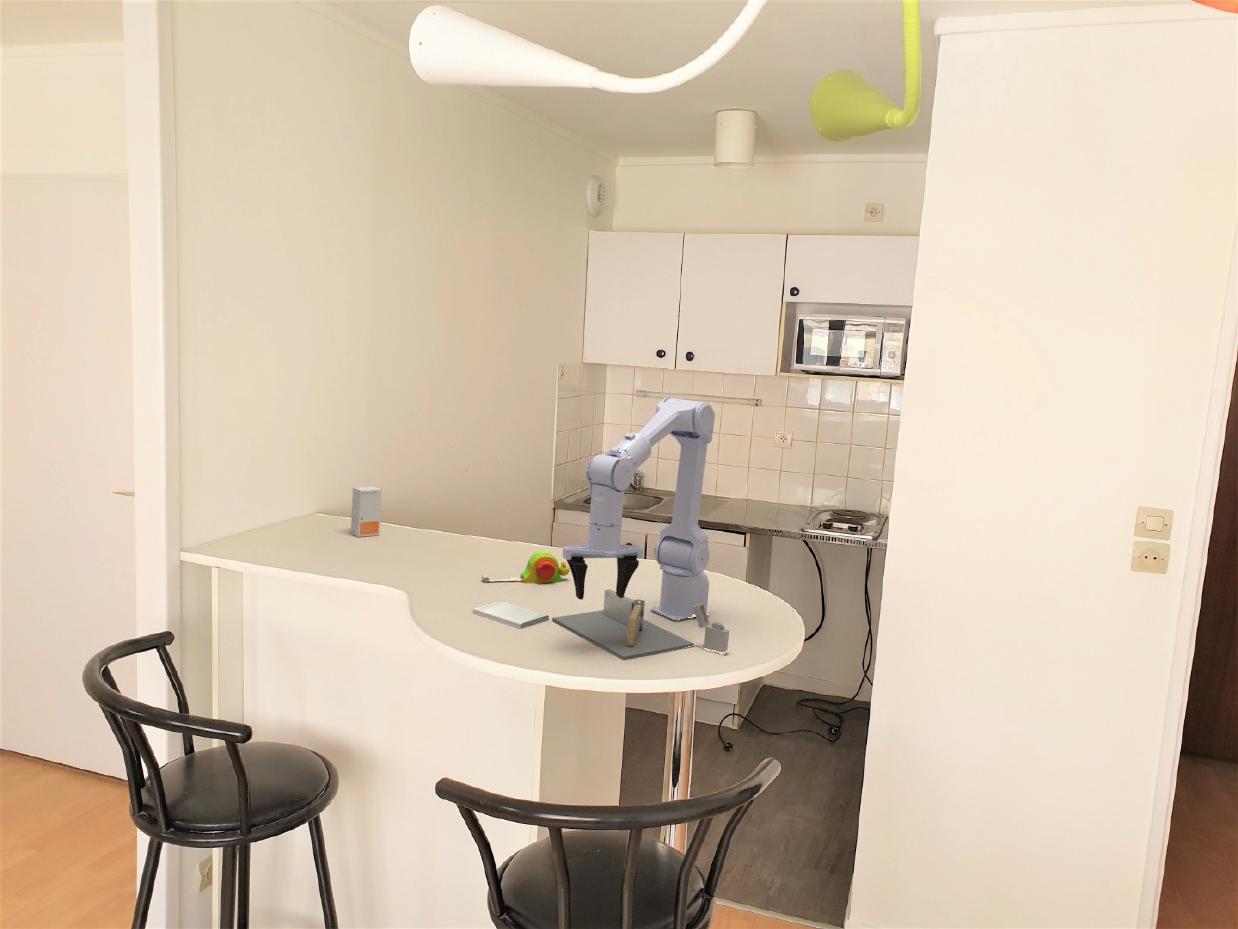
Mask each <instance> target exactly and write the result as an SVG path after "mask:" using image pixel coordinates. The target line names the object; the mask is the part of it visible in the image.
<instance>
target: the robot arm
mask: <svg viewBox="0 0 1238 929" xmlns="http://www.w3.org/2000/svg"><path fill="white" fill-rule="evenodd" d="M715 416H716V414H715V411H714V409H713V407H712V405H711V403H709V402H708V401H699V400H689V399H680V398H674V397H670V396H666V397H664V398H662V400H661V401H660V402H659V403H657V405H656V409H655V415H653V416H652V418H651V419H650V420H649V421H648V422H647V423H646V424H645V426H643V427H642V428H641V430H640V431H639V432H627V433H626V434H624V437H623V438H622V439H621V440H620V441H618V443H616V444H615V445H614V446H613V447H612V448H610V450H608V451H607V452H606V453H605V454H598V455H596V456H594V457H592V458H591V459H590V461H589V463H588V466H587V468H586V470H585V478H586V481H587V483H588V493H589V495H590V509H589V510H590V511H589V523H588V524H589V525H588V535H587V536H588V537H587V544H585V543H584V544H577V545H567V546H565V545H564V546H563V547H562V558H563V559H564V560H566V563H567V564H568V565H567V566H568V567H569V571H570V572H571V575H572V578H573V583H574V590H575V596H576V598H577V599H579V600H584V596H585V583H586V581H585V580H586V575H587V571H588V568H589V566H588V564H587V563H586V560H585V559H614V558H615V559H616V565H617V566H616V567H617V569H616V570H617V578H616V586H615V592H616V595H617V596H618V597H619V598H624V596H625V594H626V591H627V589H628V588H627V587H628V585H629V582H630V580H631V578H632V577H633V574H634V573H635V571H637V569H638V567H639V566H640V565H639V564H640V561H639V559H643V558H644V557H643V556H644V547H642V546H641V545H636V544H635V545H631V544H621V535H622V525H623V524H622V523H623V522H622V521H623V511H624V498H625V496H624V495H625V490H626V489H628V488H629V487H630V485H631V483H632V481H633V478H634V476H635V475H636V472H637V469H639V468H640V466H642V464H644V463H645V462H646V461H647V460H648V459H649V458H650V457H651V455H652V447H654V445H656V444H658V443H659V442H661V440H663V439H664V438H665V437H667V436H668V435H670V436H671V437H673V438H675V440H677V442H678V444H679V445H680V452H679V453H680V454H679V460H678V461H679V463H678V469H677V478H676V486H675V494H674V502H673V512H672V518H671V523H670V524H668V525H666V526H665V527H663V528H662V529H661V530H660V534H659V537H658V538H659V539H658V541H657V543H656V546H655V549H654V551H655V552H654V555H655V560H656V563H657V564H658V565H659V569H660V570H662V575H661V576H662V577H661V578H662V579H661V590H660V600H659V601H660V602H659V605H658V606H652V607H650V609H651V610H650V611H652V610H653V611H652V612H654V611H655V612H654V613H657V614H658V613H660V614H662V615H661V616H663V615H664V616H663V617H665V616H666V617H665V618H667V617H668V619H669V618H670V619H669V620H671V619H674V620H678V619H684V620H686V619H685V618H688V617H692V615H693V614H695V612H694V609H693V606H694V605H697V604H701V603H703V604H704V606H705V610H706V611H707V612H708V602H709V601H708V600H709V592H710V590H709V589H710V583H709V582H710V580H709V578H708V575H707V574H706V573H705V569H706V568H707V566H708V564H709V560H710V550H709V539H710V538H709V535H707V534H706V532H704V530H703V529H702V528H701V527H700V525H699V516H700V507H701V502H702V501H701V500H702V492H703V484H704V478H705V468H706V461H707V460H706V458H707V454H708V453H707V452H708V444H710V443H712V441H713V433H714V426H715V418H716V417H715ZM660 614H659V615H660ZM678 621H679V620H678Z"/></svg>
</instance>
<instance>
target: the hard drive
mask: <svg viewBox="0 0 1238 929" xmlns="http://www.w3.org/2000/svg"><path fill="white" fill-rule="evenodd" d="M472 614H473V615H477V616H479V617H483V618H486V619H489V620H491V621H495V622H498V623H500V624H504V625H506V626H510V627H513V628H516V629H519V630H522V629H525V628H528V627H531V626H532V627H533V626H535V625H538V624H541V623H544V622H547V621H549V620H550V616H549V614H545V613H542V612H538V611H535V610H532V609H529V608H525V607H523V606H520V605H517V604H513V603H510V602H506V601H502V600H497V601H495V602H491V603H488V604H485V605H480V606H478V607H475V608H473V609H472Z"/></svg>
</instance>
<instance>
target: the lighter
mask: <svg viewBox="0 0 1238 929" xmlns="http://www.w3.org/2000/svg"><path fill="white" fill-rule="evenodd" d="M693 609H694V612H695V615H696V618H695V619H696V622H697V626H698V628H699V629H700V628H705V629H704V630H705V631H704V639H703V640H704V642H703V649H704V648H707V649H710V650H716V651H719V652H725V651H726V650H727V651H728V646H729V636H730V629H726V628H725V625H724V624H723V623H722V622H718V621H713V622H711V624H710V619H709V617H708V616H709V615H708V616H707V613H706V610H705V606H704V604H703V603H701V604H697V605H694V606H693Z"/></svg>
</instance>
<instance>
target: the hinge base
mask: <svg viewBox="0 0 1238 929" xmlns="http://www.w3.org/2000/svg"><path fill="white" fill-rule="evenodd" d="M603 598H604V600H603V610H596V611H588V612H583V613H574V614H569V615H562V616H554V617H552V618H551V621H552V622H554V623H556V624H557V625H559V626H561V627H562V628H564V629H565V630H566V629H567V631H568V630H569V631H571V633H574V634H576V635H577V636H579V637H581V638H583V639H584V640H586V641H588V642H590V643H592V644H594V645H596V646H597V647H599V648H601V649H602V650H605V651H607V652H609V653H610V654H612V655H614V656H616V657H618V658H619V659H621V660H622V661H625V660H626V661H627V660H630V659H637V658H642V657H648V656H650V655H651V656H652V655H658V654H661V653H666V652H672V650H673V651H677V650H683V649H682V648H684V649H686V648H685V647H688V646H692V645H693V646H694V643H693V642H692V641H690V640H687V639H685V638H684V637H681V636H679V635H676V634H675V633H672V632H671V631H669V630H666V629H664V628H662V627H660V626H658V625H656V624H653V623H652V622H649V620H648V621H647V620H646V619H644V616H642V617H641V618H640V630H639V633H638V636H637V638H636V641H635V643H634V646H630V645H627V637H628V625H629V617H630V615H631V613H632V610H633V608H634V600H635V599H632V598H631V597H628V596H626V595H624V598H619V597H618V596H617V595H616V590H615V591H614V590H613V589H609V588H608V589H604V597H603Z"/></svg>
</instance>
